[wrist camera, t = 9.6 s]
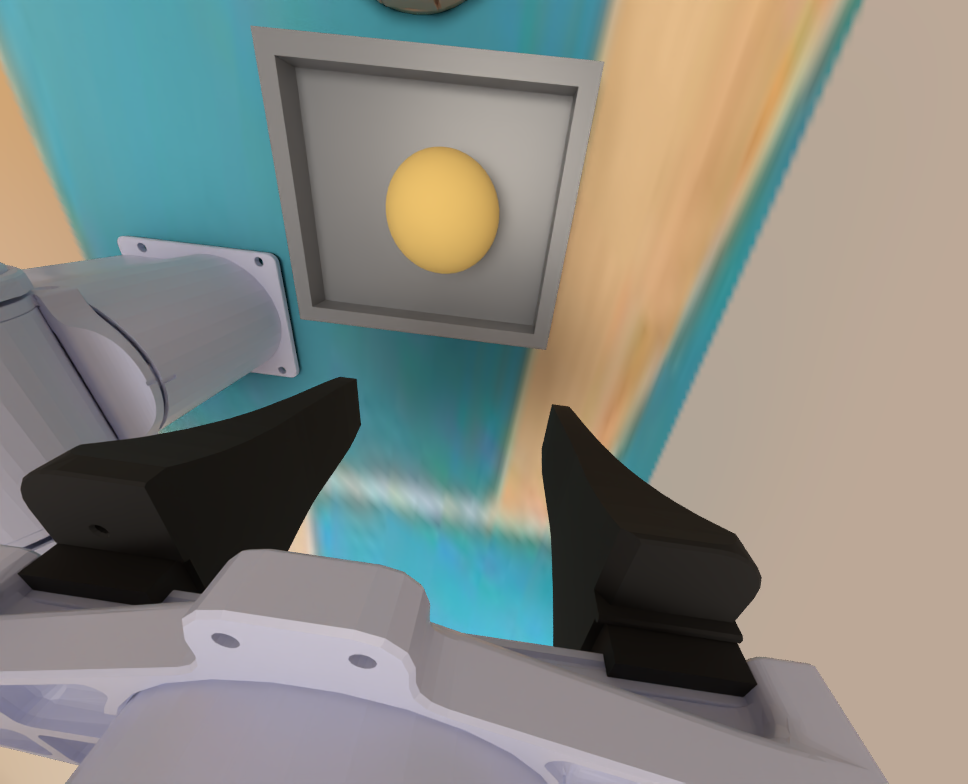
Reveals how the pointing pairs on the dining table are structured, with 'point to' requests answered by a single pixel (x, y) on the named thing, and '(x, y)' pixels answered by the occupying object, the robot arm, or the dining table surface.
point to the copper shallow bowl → (421, 5)
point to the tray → (396, 136)
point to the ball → (442, 210)
